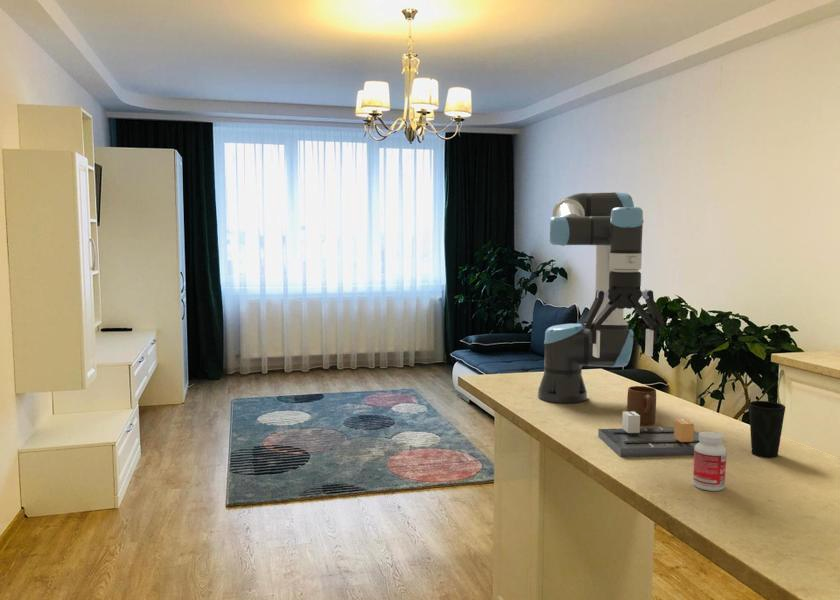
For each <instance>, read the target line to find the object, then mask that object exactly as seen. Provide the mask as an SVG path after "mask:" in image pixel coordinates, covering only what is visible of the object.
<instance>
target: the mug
mask: <svg viewBox="0 0 840 600" xmlns="http://www.w3.org/2000/svg"><path fill="white" fill-rule="evenodd" d="M626 401H627V402H626V404H627V405H626V410H627V411H626V412H628V411H634V412H636V413H637V414H639V415H640V426H652V425H654V424H655V423H656V417H657V416H656V413H657V390H656V389H655V387H654V388H653V387H649V386H643V385H642V386H641V385H635V386H633V385H632V386H629V387H628V388H627V400H626Z"/></svg>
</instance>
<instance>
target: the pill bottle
mask: <svg viewBox="0 0 840 600" xmlns="http://www.w3.org/2000/svg"><path fill="white" fill-rule="evenodd" d="M698 439H699V441H700V442H699V443H697V444H696V445H695V448H694V455H693V475H692V476H693V477H692V483H693V485H694V486H695V488H698V489H699V490H703V491H704V490H705V491H711V492H718V491H719V492H720V491H722V490H724V488H725V486H726V484H725V483H726V473H727V472H726V470H727V448H726V446H724V445H723V442H724V435H723V434H720V433H717V432H712V431H700V432H699V438H698Z"/></svg>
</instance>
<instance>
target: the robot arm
mask: <svg viewBox="0 0 840 600" xmlns="http://www.w3.org/2000/svg"><path fill="white" fill-rule="evenodd" d="M643 212H644V211H643V209H642V207H639V206H638V207H637V206H635V205H634V201H633V197H632V195H630V194H629V193H627V192H626V193H625V192H581V193H575V194H572V195H569V196H566V197H564V198H562V199H560V200H559V201H557V203H556V204H555V205H554V207H553V209H552V217H550V219H549V243H550V244H551V245H554V246H555V245H556V246H562V247H564V246H596V247H595V248H596V249H595V253H596V254H595V286H594V287H595V289H594V291H595V292H594V293H595V296H594V300H593V301H592V304H591V307H590V308H589V309H588V312H587V314H586V317H584V320H583V322H582V323H563V324H562V323H561V324H557V325H556V324H555V325H552V326H550V327H548V328H547V329H546V330H545V332H544V341H543V344H544V359H543V360H544V361H543V362H544V363H543V365H544V366H543V375H542V379H541V381H540V384H539V387H538V390H537V394H538V395H537V397H538V398H539V399H540V400H542V401H546V402H549V403H550V402H551V403H557V404H558V403H559V404H576V403H577V404H578V403H581V402H585V401H587V399H588V397H587V395H588V394H587V393H588V392H587V388H586V384H585V381H584V379H583V373H582V368H583V367H605V368H606V367H607V368H622V367H623V368H624V367H626V366H627V365H628V364H629V362H630V360H631V356H632V351H633V345H634V331H633V329H629V323H628V322H627V321H626V320H625V319H624V309H627V310H628V309H629V310H630V309H633V310H635V312H636V314H638V315H639V317H640V318H641V319H642V321H644V323H645V324H646V326H647V327H648V328H645V347H644V350H645V351H644V355H645V356H647V357H653V356H654V355H653V353H654V343H657V337H658V336H657V335H658V331H659V330H660V329H661V328H665V326H666V324H665V322H664V320H663V317H662V315H661V312H660V311H659V308H658V306H657V304H656V301H655V299H654V291H653V290H650V289H644V290H641V287H642V286H641V285H642V284H641V283H642V273H641V272H640V271H641V269H642V251H643V249H642V248H643V229H644V228H643V227H644V226H643V225H644V213H643ZM639 270H640V271H639ZM642 298H643V299H644V300H645V303H646V305H647V307H648V310H649V312H650V314H651V316H650V315H649V314H648V313H647V310H645V309H644V308H643V307H644V306H643V305H642V304H641V303H640V302H639V301H640V299H642Z"/></svg>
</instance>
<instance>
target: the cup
mask: <svg viewBox="0 0 840 600" xmlns="http://www.w3.org/2000/svg"><path fill="white" fill-rule="evenodd" d="M748 409H749V428H750V430H749V431H750V447H751V454H752V455H754V456H755V457H758V458H759V457H760V458H764V459H775V458H777V457H778V456H779V449H780V445H781V443H780V442H781V438H782V437H781V436H782V433H783V425H784V420H785V412H786V406H785V405H784V404H782V403H780V402H779V403H778V402H776V401H775V402H774V401H769V400H767V401H766V400H753V401H750V402H749V404H748Z"/></svg>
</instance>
